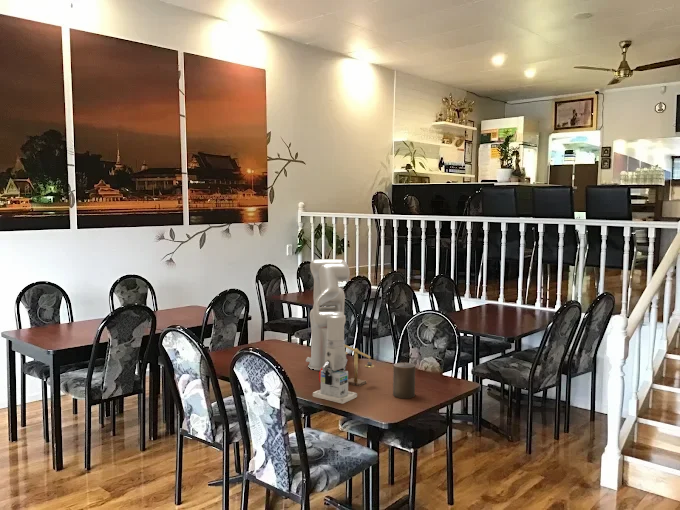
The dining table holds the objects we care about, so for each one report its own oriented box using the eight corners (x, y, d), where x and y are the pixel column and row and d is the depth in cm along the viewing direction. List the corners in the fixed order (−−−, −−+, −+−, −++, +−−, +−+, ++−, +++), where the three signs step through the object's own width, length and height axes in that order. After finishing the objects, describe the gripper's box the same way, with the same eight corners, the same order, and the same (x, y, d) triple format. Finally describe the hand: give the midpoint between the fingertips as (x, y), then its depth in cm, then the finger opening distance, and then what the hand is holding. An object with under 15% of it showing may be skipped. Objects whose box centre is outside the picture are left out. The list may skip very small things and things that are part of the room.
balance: (334, 381, 284) (335, 344, 283) (342, 378, 289) (342, 342, 288) (370, 388, 273) (370, 350, 271) (376, 385, 278) (377, 347, 276)
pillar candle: (414, 399, 258) (415, 365, 257) (391, 397, 260) (392, 364, 259) (415, 392, 268) (416, 360, 267) (393, 391, 269) (394, 358, 268)
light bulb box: (348, 395, 260) (348, 370, 259) (339, 399, 254) (340, 374, 253) (328, 390, 266) (328, 366, 265) (319, 394, 260) (320, 370, 259)
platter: (312, 396, 260) (312, 392, 260) (327, 390, 269) (327, 386, 269) (342, 403, 251) (342, 399, 251) (357, 397, 260) (357, 393, 260)
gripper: (330, 348, 249) (330, 388, 251) (353, 340, 263) (353, 378, 265) (316, 345, 254) (316, 384, 255) (339, 338, 268) (339, 375, 269)
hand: (334, 381), depth 260 cm, fingers open, 9 cm apart
